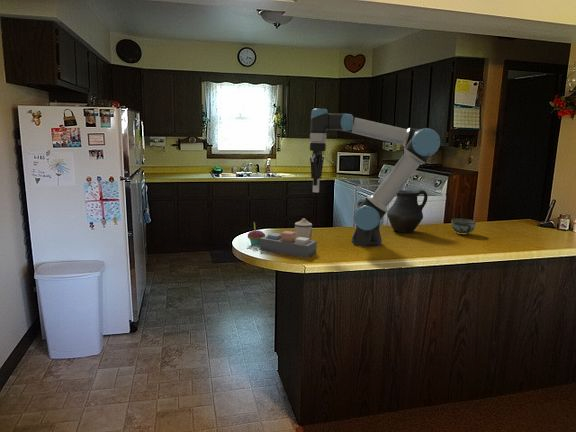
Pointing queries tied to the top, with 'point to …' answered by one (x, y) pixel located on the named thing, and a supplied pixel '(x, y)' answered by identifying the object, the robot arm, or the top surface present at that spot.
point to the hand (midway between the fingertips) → (315, 192)
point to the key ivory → (302, 240)
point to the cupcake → (255, 236)
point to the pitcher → (406, 211)
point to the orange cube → (288, 236)
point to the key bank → (288, 247)
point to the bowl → (463, 225)
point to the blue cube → (274, 236)
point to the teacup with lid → (303, 229)
